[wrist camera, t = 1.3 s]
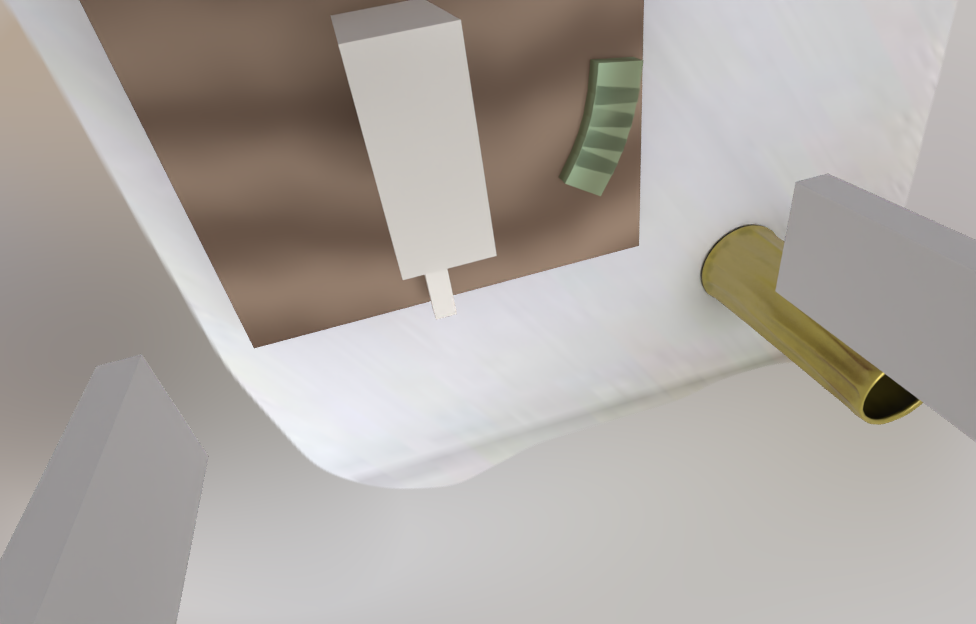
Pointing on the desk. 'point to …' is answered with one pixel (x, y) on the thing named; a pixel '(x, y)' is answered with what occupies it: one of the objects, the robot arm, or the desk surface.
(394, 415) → the desk surface
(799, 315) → the vase
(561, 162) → the brown flat square board
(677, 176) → the desk surface
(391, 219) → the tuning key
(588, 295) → the desk surface
